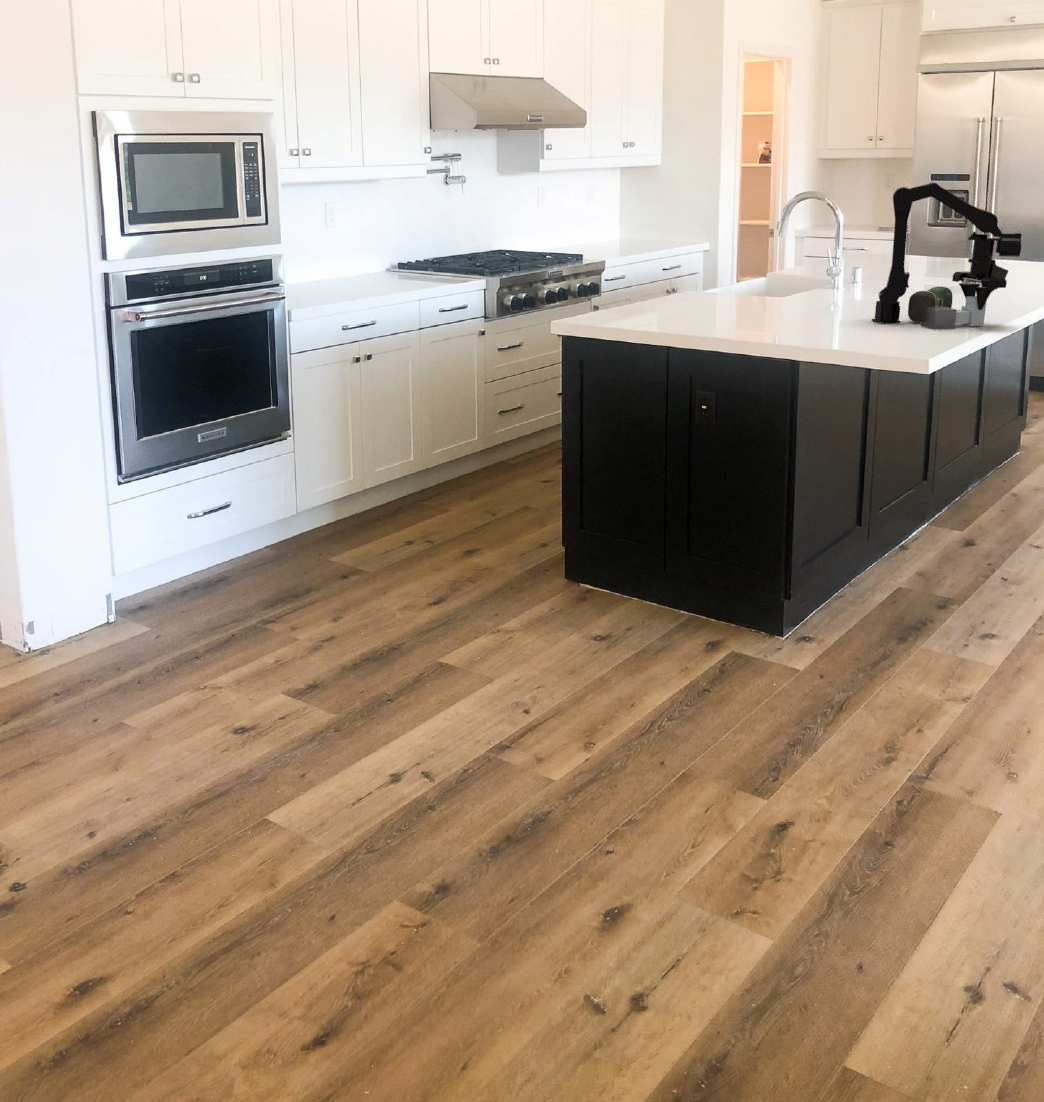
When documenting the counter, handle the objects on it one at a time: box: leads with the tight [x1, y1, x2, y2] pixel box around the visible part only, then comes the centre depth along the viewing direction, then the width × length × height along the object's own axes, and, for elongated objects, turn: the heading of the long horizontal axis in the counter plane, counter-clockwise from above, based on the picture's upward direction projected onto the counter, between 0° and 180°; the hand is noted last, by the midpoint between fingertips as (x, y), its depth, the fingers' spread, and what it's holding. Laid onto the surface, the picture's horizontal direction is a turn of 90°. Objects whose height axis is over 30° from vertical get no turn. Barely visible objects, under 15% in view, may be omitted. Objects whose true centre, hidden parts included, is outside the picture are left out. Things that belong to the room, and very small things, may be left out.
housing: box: [920, 306, 958, 330], centre depth 361 cm, size 7×7×6 cm
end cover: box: [955, 295, 988, 327], centre depth 363 cm, size 11×6×8 cm, turn 106°
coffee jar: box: [907, 286, 953, 323], centre depth 374 cm, size 10×8×19 cm
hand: (975, 308), depth 364 cm, fingers closed on end cover, 4 cm apart
